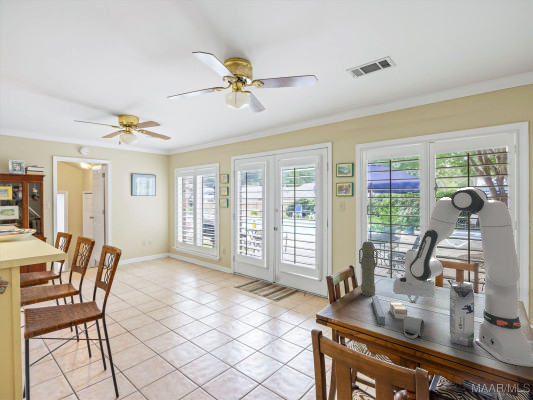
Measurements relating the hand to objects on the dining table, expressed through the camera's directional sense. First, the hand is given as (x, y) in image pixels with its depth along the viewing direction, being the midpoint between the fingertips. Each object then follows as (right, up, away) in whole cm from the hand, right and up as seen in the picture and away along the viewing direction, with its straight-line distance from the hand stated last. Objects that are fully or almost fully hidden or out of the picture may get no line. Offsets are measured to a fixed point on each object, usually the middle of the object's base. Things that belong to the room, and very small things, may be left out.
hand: (412, 303), depth 151 cm
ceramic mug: (-10, -8, -20) cm, 24 cm away
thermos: (-12, -7, +33) cm, 36 cm away
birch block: (-7, -7, +2) cm, 10 cm away
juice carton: (+8, -8, -26) cm, 28 cm away
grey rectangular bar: (-17, -7, +4) cm, 19 cm away
